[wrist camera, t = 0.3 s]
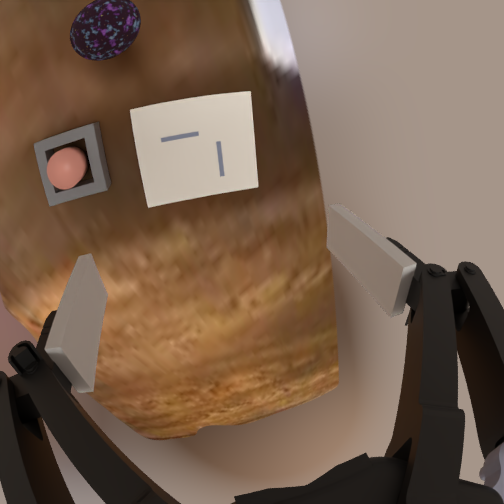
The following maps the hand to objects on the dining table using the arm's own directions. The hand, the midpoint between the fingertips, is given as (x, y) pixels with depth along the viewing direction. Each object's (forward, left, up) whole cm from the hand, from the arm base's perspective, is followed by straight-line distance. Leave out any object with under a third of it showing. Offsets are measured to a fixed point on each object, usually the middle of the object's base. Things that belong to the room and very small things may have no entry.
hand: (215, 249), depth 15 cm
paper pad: (-1, +1, -27) cm, 27 cm away
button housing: (-3, -16, -27) cm, 31 cm away
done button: (-3, -16, -25) cm, 29 cm away
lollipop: (-17, -7, -27) cm, 32 cm away
